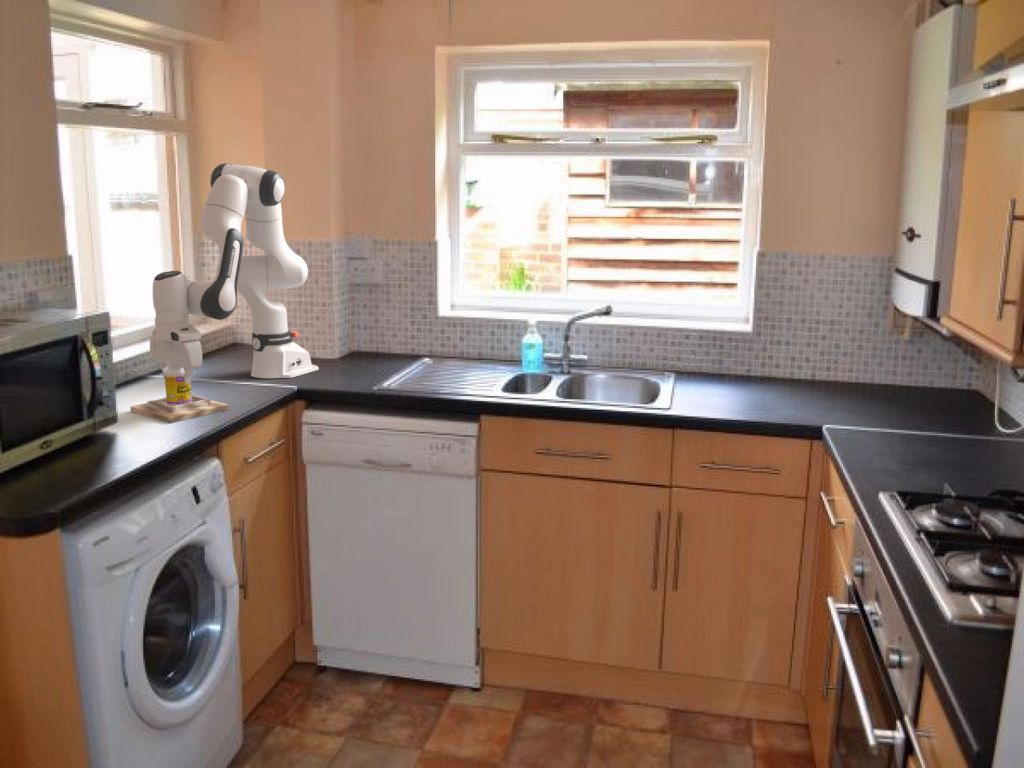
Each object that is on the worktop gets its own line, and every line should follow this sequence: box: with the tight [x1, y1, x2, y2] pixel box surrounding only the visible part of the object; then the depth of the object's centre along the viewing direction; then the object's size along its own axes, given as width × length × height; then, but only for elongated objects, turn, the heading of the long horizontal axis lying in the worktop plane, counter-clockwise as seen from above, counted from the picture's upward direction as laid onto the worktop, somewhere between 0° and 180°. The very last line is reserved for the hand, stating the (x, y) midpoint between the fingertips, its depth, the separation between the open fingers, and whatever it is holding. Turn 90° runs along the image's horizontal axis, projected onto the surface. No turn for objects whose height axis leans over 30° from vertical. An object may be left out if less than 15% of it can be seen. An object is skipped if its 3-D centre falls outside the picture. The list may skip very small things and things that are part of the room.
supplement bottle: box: [164, 361, 192, 406], centre depth 256 cm, size 7×7×13 cm
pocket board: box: [129, 394, 230, 424], centre depth 257 cm, size 18×20×3 cm
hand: (177, 380), depth 256 cm, fingers open, 8 cm apart
